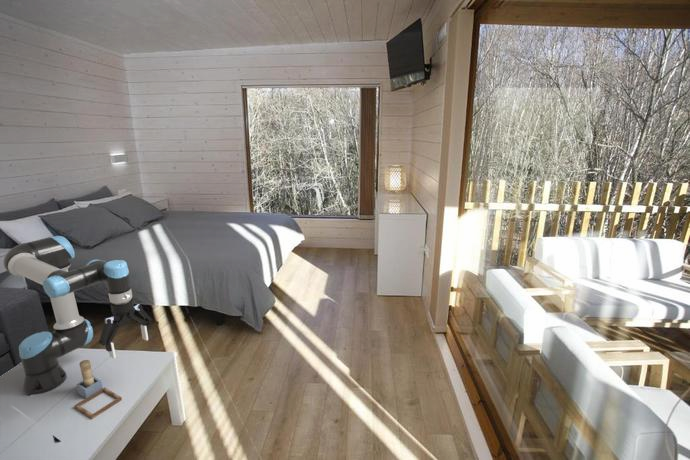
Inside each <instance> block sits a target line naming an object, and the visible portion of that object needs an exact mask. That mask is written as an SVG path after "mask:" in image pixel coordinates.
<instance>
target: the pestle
mask: <svg viewBox="0 0 690 460" xmlns="http://www.w3.org/2000/svg"><path fill="white" fill-rule="evenodd" d="M79 367H80V372H81V377H82V381H83V382H84V386H85V388H87V387H89V386H91V385H92V384H94V378H93V376H94V374H93V370H92V365H91V361H90V360H89V359H83V360H81V361H79Z"/></svg>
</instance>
